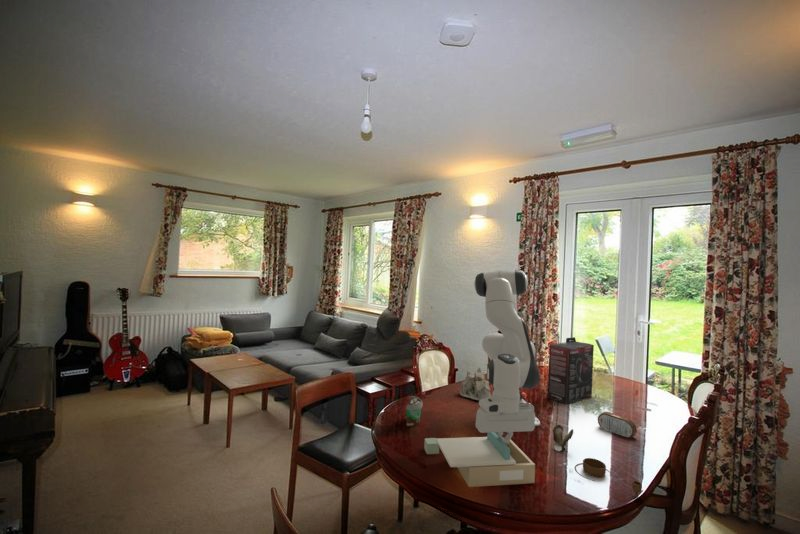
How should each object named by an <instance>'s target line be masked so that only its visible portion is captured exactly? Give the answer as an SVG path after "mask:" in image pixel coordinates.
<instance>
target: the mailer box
mask: <svg viewBox="0 0 800 534" xmlns="http://www.w3.org/2000/svg"><path fill="white" fill-rule="evenodd" d="M506 445H507V446H508V447H509V448H510V455H511V457H512V458H513V459H514V460H515V461H516V464H509V465H488V466H467V467H456V468H457V470H458V471H459V473H460V475H461V477H462V479H464V481H465V484H466V485H467V487H469V488H476V487H489V486H490V487H491V486H493V487H494V486H509V485H525V484H527V485H528V484H535V479H536V478H535V477H536V463H534V462H533V460H531V458H530V457H529V456H527V454H526V453H524V452H523V450H522V449H521V448H519V446H518V445H517V444H516V443H515V442H514V441H513V440H512V438H511V439H510V444H506Z"/></svg>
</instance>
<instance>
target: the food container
mask: <svg viewBox="0 0 800 534" xmlns="http://www.w3.org/2000/svg"><path fill="white" fill-rule="evenodd" d="M423 406H424V404H423V400H422V399H421V398H420V397H418V396H416V395H415V396H414V395H411V396H410V400H409V401H408V404H406V423H405V424H406V425H405V426H406V427H408V428H413V427H417V426H419V425H420V422H421V412H422V408H423Z"/></svg>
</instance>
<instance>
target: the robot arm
mask: <svg viewBox="0 0 800 534" xmlns="http://www.w3.org/2000/svg"><path fill="white" fill-rule="evenodd" d="M473 286H474V290H475V292H476V294H477V295H478V296H479V297H484V299H485V300H484V301H485V307H484V308H485V315H486V319H487V320H488V322H489V323H490V324H491V325H493V326H494V327H496V328H497V329H498V330H499V331H500V332H501V333H498V332H495V333H494V332H493V333H492V332H491V333H487V334H486V335H485V336H484V337H483V339H482V341H481V344H482V345H481V346H482V349H483V351H484V353H485V354H486V355H487V357H488V358H489V362H488V363H486V366H487V367H486V381H489V384H491V385H492V386H493V388H492V393H491V394H490V395H491V396H489V397H486V398H484V399H481V400H478V405H479V408H478V409H477V411H476V415H475V428H476V429H477V430H478V431H477V432H479V433H481V434H485V433H491V432H495V433H496V434H497V435H498V436H499V437H500V439H501V440H502V441H503V442H504V443H505V444H510V439H511V440H512V437H513V436H514V433H515V432H517V433H518V432H533V431H534V429H535V428H536V426H537V427H538V426H540V425H541V421H540V420H539V418H538V417H537V416H536V415H535V406H534V405H533V404H532V403H530V402H527V401H525V399H526V398H527V395H528V394H527V393H526V392H522V390H523V389H525V390H533V389H534V388H536V387H537V386H538V385H539V384H540V381H541V380H540V379H541V374H540V370H539V367H538V363H537V361H536V358H535V356H536V347H535V344H534V343H533V342H532V341H531V339H530V335H529V330H528V328H527V325H526V322H525V320H524V319H523V318H522V317H520V316H519V314H518V305H517V299H516V296H520V295H523V294H525V293H526V292H527V289H528V286H529V281H528V276H527V275H526V273H525V271H523V270H518V269H515V270H511V269H510V270H509V269H505V270H503V269H502V270H501V269H500V270H495V271H488V272H480V273H478V274H477V275H476V276H475V280H474V282H473ZM520 388H521V389H522V390H520ZM523 398H524V399H523ZM504 433H507V434H506V435H505V437H503V435H504Z"/></svg>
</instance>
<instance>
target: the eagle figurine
mask: <svg viewBox="0 0 800 534" xmlns="http://www.w3.org/2000/svg"><path fill="white" fill-rule="evenodd" d="M563 431H564V427H563V426H562V425H561V424H558V425H555V426H554V427H553V429H552V432H553V433H552V434H553V438H552V440H553V441H554V442H555V443H556V445H554V447H553V448H554V450H555V451H556V452H563V451H564V452H567V453H568V450H567V449H566V447H565V446H566V445H567V442H568V441H570V440H571V439H572V437H573V435H574V429H573V428H571V430H570V431H569V432H568V433H567V434H565V436H564V437H563Z"/></svg>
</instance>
